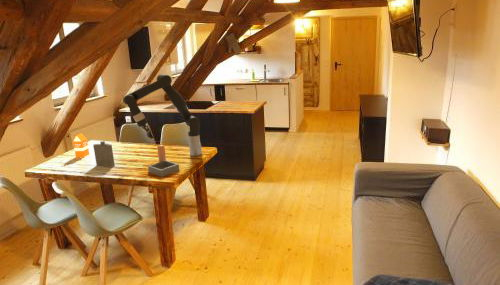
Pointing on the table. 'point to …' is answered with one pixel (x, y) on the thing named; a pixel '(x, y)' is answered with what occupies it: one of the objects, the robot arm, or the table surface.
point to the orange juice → (80, 146)
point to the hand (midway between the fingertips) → (151, 137)
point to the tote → (163, 168)
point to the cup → (161, 153)
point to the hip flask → (104, 154)
